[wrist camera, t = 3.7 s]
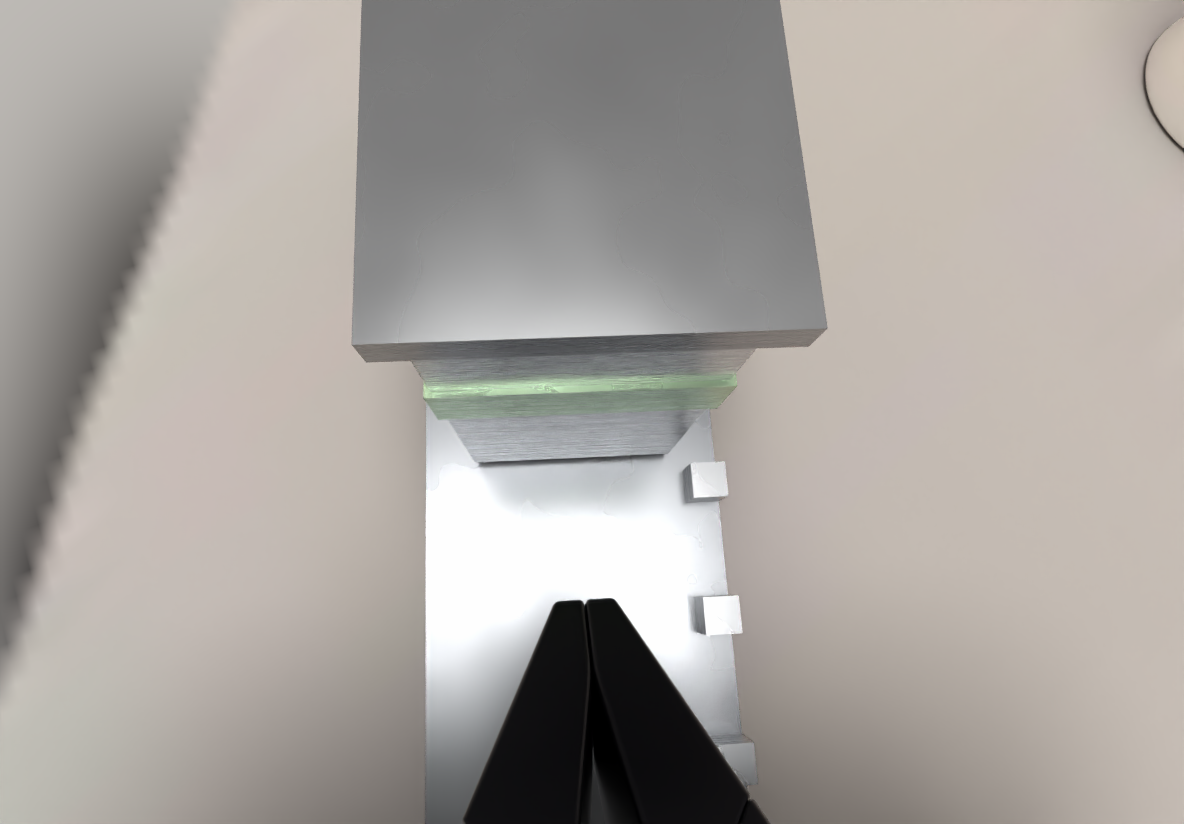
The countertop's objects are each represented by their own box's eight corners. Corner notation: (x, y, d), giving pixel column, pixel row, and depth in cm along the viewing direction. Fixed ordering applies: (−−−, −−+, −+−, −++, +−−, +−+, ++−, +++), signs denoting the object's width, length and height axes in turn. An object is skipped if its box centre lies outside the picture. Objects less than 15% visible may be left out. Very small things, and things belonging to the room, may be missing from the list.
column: (682, 467, 17) (828, 328, 8) (462, 477, 16) (351, 345, 7) (664, 267, 18) (772, -50, 9) (459, 273, 18) (363, -50, 9)
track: (758, 1038, 15) (827, 1190, 11) (434, 1070, 15) (393, 1240, 11) (668, 95, 21) (694, -16, 17) (433, 98, 21) (406, -15, 17)
